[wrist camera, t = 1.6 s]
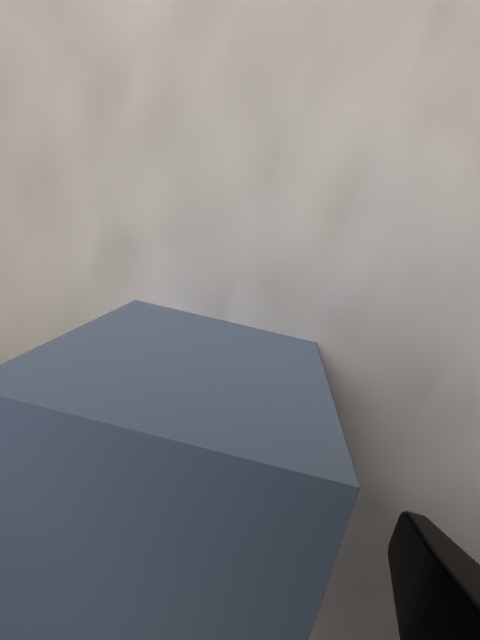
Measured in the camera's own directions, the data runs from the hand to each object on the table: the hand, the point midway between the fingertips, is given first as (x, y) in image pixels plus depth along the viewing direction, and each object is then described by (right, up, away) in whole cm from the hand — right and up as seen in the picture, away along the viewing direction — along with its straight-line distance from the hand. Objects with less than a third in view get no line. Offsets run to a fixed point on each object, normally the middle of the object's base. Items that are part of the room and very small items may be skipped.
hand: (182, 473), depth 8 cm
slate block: (0, +1, +3) cm, 3 cm away
